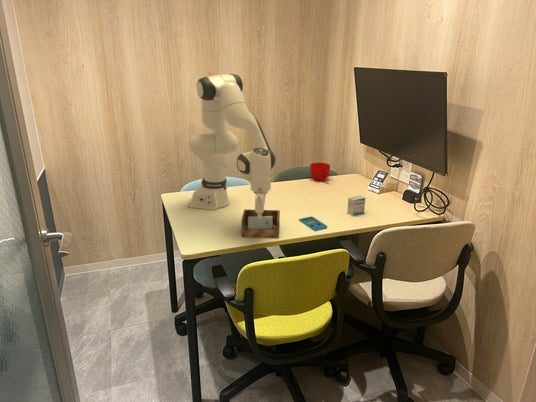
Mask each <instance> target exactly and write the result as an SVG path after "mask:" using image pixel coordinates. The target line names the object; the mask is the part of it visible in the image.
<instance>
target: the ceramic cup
mask: <svg viewBox="0 0 536 402" xmlns="http://www.w3.org/2000/svg"><path fill="white" fill-rule="evenodd" d="M309 169H310V170H309V172H310V175H311V177H312V179H313V180H314V181H316V182H324V181H325V180H326V179H327V178H328V177H330V170H331V165H330V164H329V163H326V162H313V163H310V165H309Z"/></svg>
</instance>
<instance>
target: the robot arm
mask: <svg viewBox="0 0 536 402" xmlns="http://www.w3.org/2000/svg"><path fill="white" fill-rule="evenodd" d="M243 83H244V82H243V80H242V78H241V76H240V75H238V74H235V73H230V74H227V73H226V74H224V73H223V74H215V75H210V76H204V77H200V78H199V79H198V80H197V82H196V92H197V95H198V97H199V98H200V99H201V117H202V118H201V120H202V121H201V122H202V124H203V125H204V126H205V127H206V128H209V129H211V130H213V131H214V132H212V133H198V134H195V135H192V136H191V137H190V138H189V141H188V148H189V150H190V153H192V155H194V156H196V157H197V158H198V159H199V160H200V162H201V163H202V166H203V171H204V177H202V178H201V186H199V187H198V188H197V189H195V191H193V193H192V197H191V199H189V201H188V203H187V206H188V208H190V209H191V208H193V209H200V210H201V209H202V210H203V209H204V210H211V211H215V210H218V209H221V208H225V207H228V206H229V205H230V199H229V197H228V191H227V189H228V181H227V178H226V166H225V164H224V162H222V161H221V160H218V159H216V158H215V157H214V155H227V154H231V153H234V152H236V151H237V150H238V147H239V139H238V136H236V135H235V133H233V132H232V131H231V130H229V128H228V126H227V124H228V125H230V126H232V127H234V128H237V129H240V130H241V129H242V130H244V131H246V132H248V133H249V135H251V137H252V139H253V142H254V145H255V146H256V147H255V148H253V149H251V151H247V152H242V153H239V155H238V156H237V158H236V168H237V169H238V171H239V172H240V173H241V174H244V175H250V190H251V191H252V192H253V194H255V195H254V196H255V198H254V210H255V212H256V213H257V214H258V219H262V213H263V212H264V210H265V205H266V204H265V203H266V195H267V194H268V193H269V192H270V191H271V186H272V182H271V180H272V179H271V178H272V177H271V171H272V169H273V168H274V166H275V164H276V162H277V161H276V160H277V159H276V155H275V153H274V151H273V150H272V149H271V147H270V145H269V143H268V140H267V139H266V136H265V134H264V131H263V129H262V127H261V125H260V122H259V121H258V119H257V117H256V116H254V115H253V114H252V113H251V111H250V110H249V109H248V106H247V103H246V99H245V97H244V95H243V90H244V84H243ZM226 123H227V124H226Z"/></svg>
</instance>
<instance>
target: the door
mask: <svg viewBox="0 0 536 402" xmlns="http://www.w3.org/2000/svg"><path fill="white" fill-rule="evenodd" d="M248 229H261V230H272V216H262V219H258V216H248Z"/></svg>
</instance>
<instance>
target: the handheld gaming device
mask: <svg viewBox="0 0 536 402" xmlns="http://www.w3.org/2000/svg"><path fill="white" fill-rule="evenodd" d="M298 221H299V222H300V223H302V224H304V225H305V226H306V227H308V228H309V229H311V230H312V231H314V232H318V231H322V230H327V228H328V226H327V224H325V223H324V222H321V221H320V219H318V218H315V216H307V217H302V218H298Z"/></svg>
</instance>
